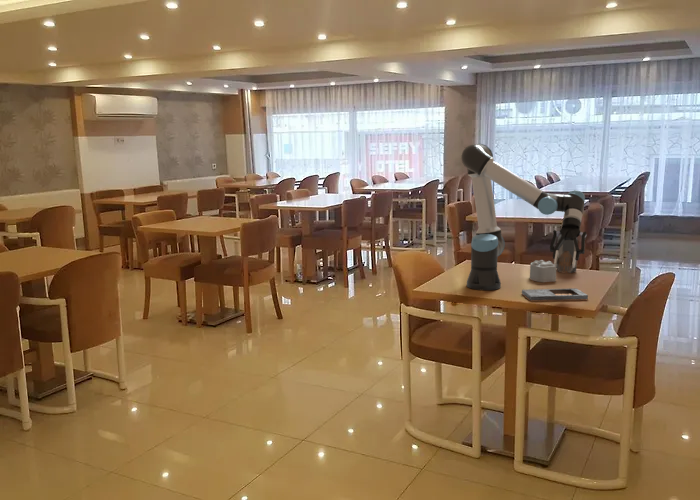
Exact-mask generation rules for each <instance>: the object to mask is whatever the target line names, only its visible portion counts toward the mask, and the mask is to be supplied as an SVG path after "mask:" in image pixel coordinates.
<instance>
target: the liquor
mask: <svg viewBox="0 0 700 500" xmlns="http://www.w3.org/2000/svg"><path fill="white" fill-rule="evenodd" d="M560 238H561V234H559V236H558V237H557V240H556V244H557V243H558V241H559V240H560ZM576 240H577V243H578V242H579V240H578V237H577V238H576ZM578 244H579V243H578ZM563 251H569V253H570V255H571V256H572V257H574V251H576V249H575V246H574V242H573V240H566V241H565V242H564V243H563V244H562V246H561V247H560V249H559V250H558V253H559V255H558V258H559V256H560V255H561V254H562V253H563ZM577 264H578V261H577V260H576V263H575V268H573V270H572V271H571V272H569V273H571V274H573V273H576V271H577ZM556 271H557V272H558V273H561V272H560V271H559V270H558V267H557V266H556Z"/></svg>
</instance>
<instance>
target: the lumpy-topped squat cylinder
mask: <svg viewBox="0 0 700 500" xmlns="http://www.w3.org/2000/svg"><path fill="white" fill-rule="evenodd" d="M529 267H530V269H529V279H530V280H532V281H535V282H538V283H548V282H549V283H550V282H556V280H557V268H556V266H554V263H553V261H550V260H548V261H545V260H543V259H540V260H536V259H535V260H534V261H533V262H531V263H530V266H529Z"/></svg>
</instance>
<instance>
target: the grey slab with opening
mask: <svg viewBox="0 0 700 500" xmlns="http://www.w3.org/2000/svg"><path fill="white" fill-rule="evenodd" d="M521 295H522V296H523V297H525V298H526V299H528V301H530V302H551V301H552V302H557V301H589V294H587V293H585V292H583V291H582V290H580V289H578V288H537V289H535V288H533V289H521Z"/></svg>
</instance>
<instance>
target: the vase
mask: <svg viewBox="0 0 700 500" xmlns="http://www.w3.org/2000/svg"><path fill="white" fill-rule="evenodd" d="M572 262H573V257H572V256H571V255H570V253H569V251H563V253H562V254H561V255H560V256H559V258H558V260H557V267H558V270H559V271H560V272H559V273H564V274H565V273H569V272H571V271H572V270H573V266H572ZM558 270H557V271H558Z"/></svg>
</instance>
